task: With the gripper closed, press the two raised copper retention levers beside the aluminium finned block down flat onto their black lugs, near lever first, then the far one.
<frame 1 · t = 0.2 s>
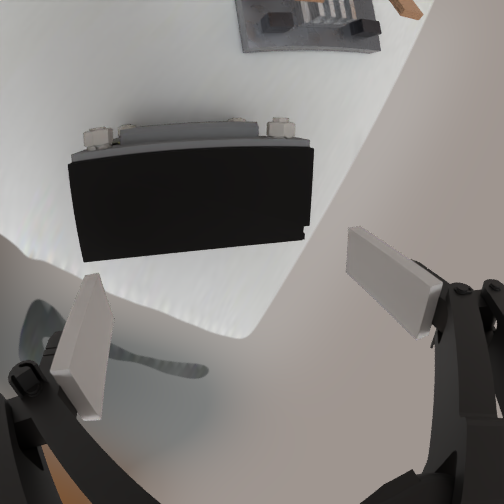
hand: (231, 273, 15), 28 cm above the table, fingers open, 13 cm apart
electrical component: (182, 158, 39), on the table
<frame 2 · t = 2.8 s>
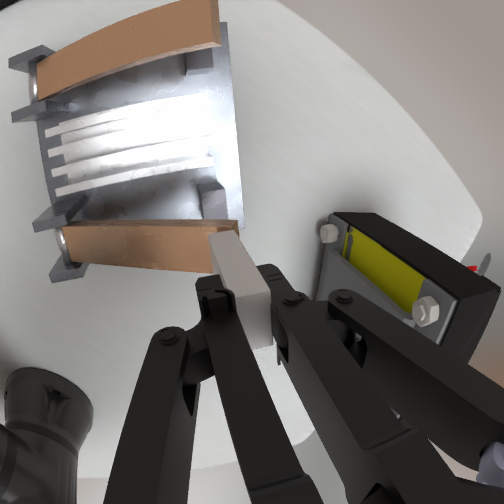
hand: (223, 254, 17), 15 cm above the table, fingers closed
long black strip: (9, 2, 16), on the table
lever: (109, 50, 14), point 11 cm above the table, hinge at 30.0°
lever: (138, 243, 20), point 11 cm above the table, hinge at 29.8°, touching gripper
electrical component: (341, 275, 40), on the table
heatsink base: (137, 138, 27), on the table
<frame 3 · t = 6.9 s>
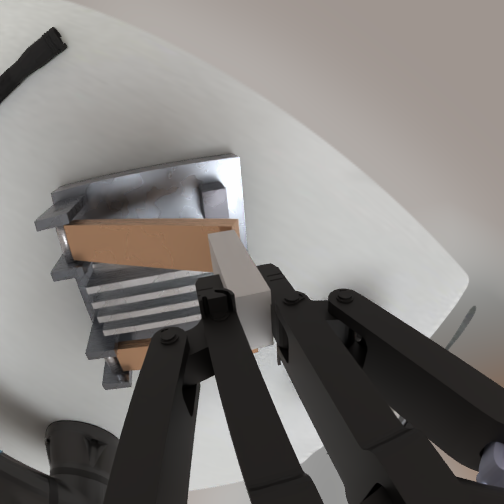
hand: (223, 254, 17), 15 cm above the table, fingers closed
long black strip: (5, 92, 21), on the table
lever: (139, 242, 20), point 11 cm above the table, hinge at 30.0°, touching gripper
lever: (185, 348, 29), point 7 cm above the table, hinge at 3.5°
heatsink base: (160, 259, 33), on the table
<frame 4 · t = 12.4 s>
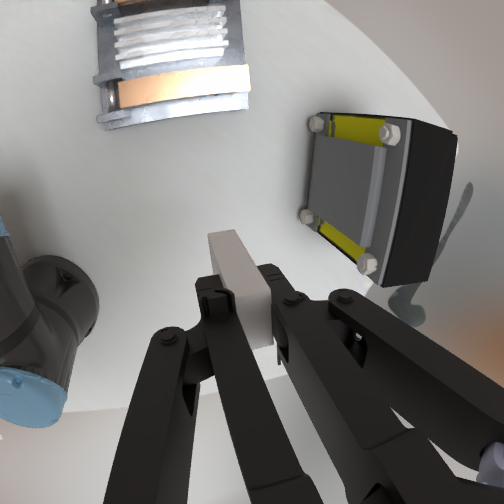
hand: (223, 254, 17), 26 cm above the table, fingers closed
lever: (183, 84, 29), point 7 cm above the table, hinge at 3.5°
electrical component: (330, 170, 46), on the table
heatsink base: (169, 46, 33), on the table
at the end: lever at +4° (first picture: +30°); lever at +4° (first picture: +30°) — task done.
